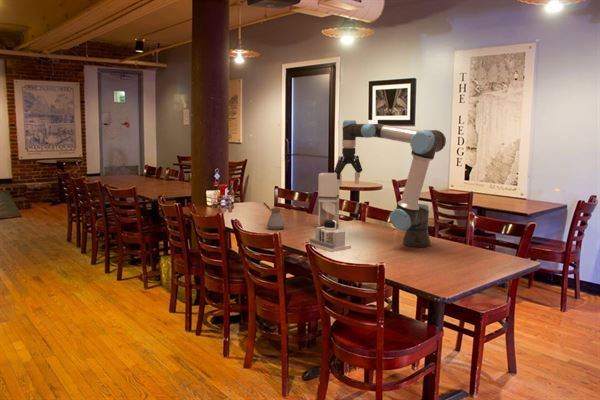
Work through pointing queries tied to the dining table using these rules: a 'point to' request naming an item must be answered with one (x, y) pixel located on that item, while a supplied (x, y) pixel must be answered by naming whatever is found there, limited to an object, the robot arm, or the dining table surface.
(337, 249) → the rail board
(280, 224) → the coffee pot
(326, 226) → the container
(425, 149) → the robot arm
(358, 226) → the dining table surface
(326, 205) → the grey dispenser tower
